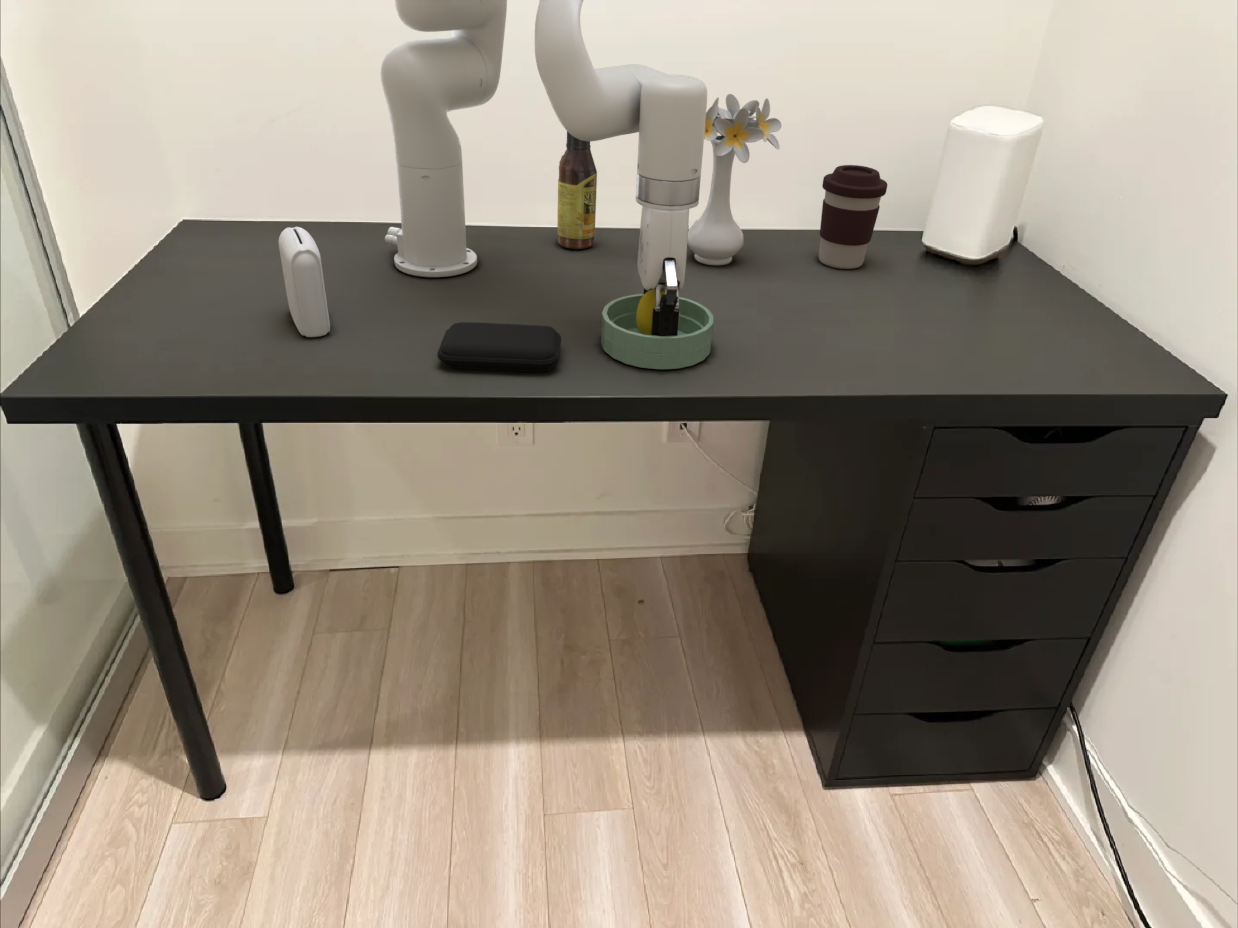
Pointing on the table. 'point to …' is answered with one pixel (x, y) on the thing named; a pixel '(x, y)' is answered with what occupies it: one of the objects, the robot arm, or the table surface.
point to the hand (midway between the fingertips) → (659, 323)
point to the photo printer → (304, 282)
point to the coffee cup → (849, 214)
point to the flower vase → (727, 175)
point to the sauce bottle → (576, 195)
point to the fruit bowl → (656, 350)
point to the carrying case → (500, 347)
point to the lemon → (646, 312)
